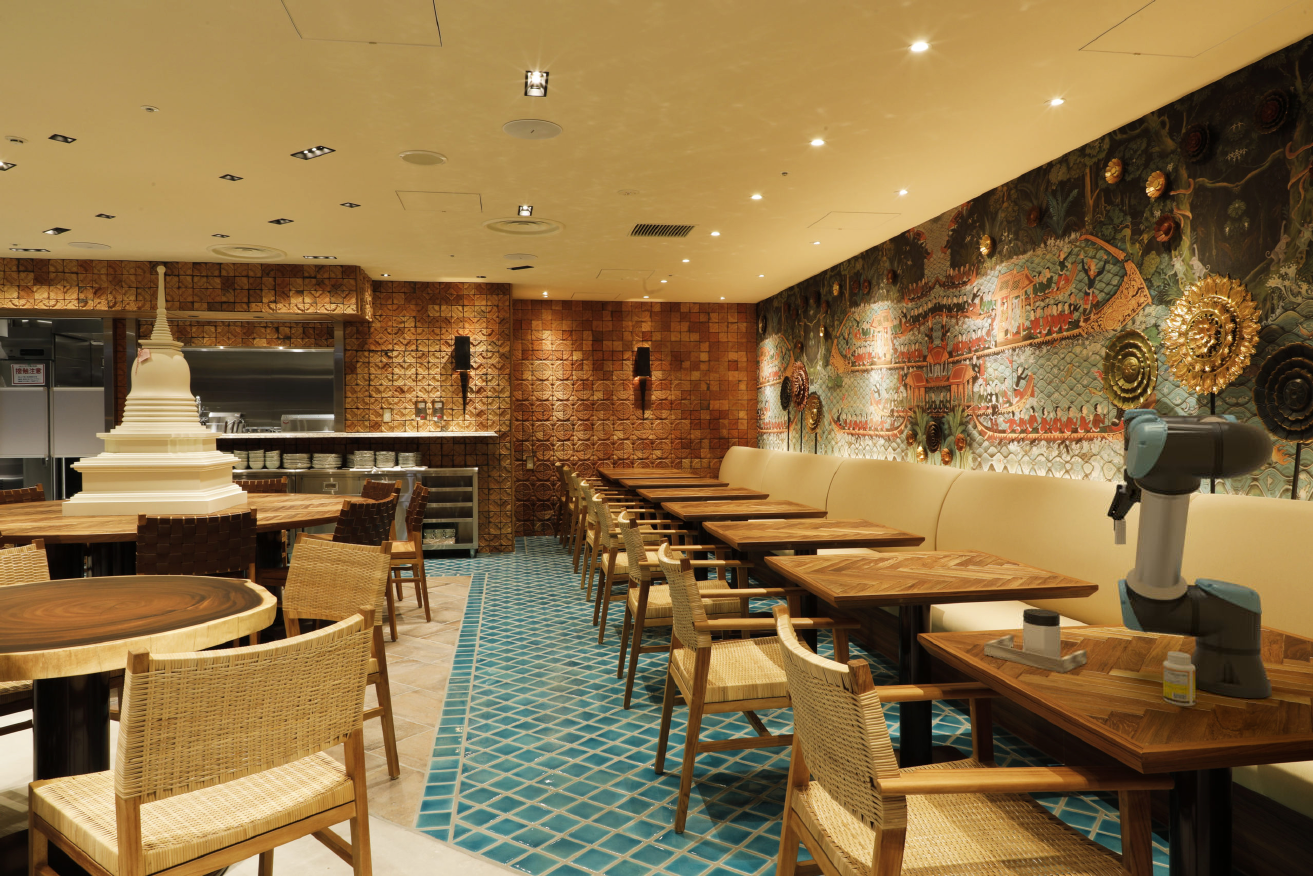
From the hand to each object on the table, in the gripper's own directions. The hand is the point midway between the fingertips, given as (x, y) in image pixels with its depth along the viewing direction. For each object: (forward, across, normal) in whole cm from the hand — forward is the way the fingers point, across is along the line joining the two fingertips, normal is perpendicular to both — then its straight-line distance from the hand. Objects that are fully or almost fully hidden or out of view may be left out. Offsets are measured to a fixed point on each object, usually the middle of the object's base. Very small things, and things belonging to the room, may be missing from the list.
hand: (1140, 548), depth 196 cm
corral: (+27, -4, +33) cm, 43 cm away
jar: (+27, -5, +33) cm, 43 cm away
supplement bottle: (+27, -37, +24) cm, 52 cm away
